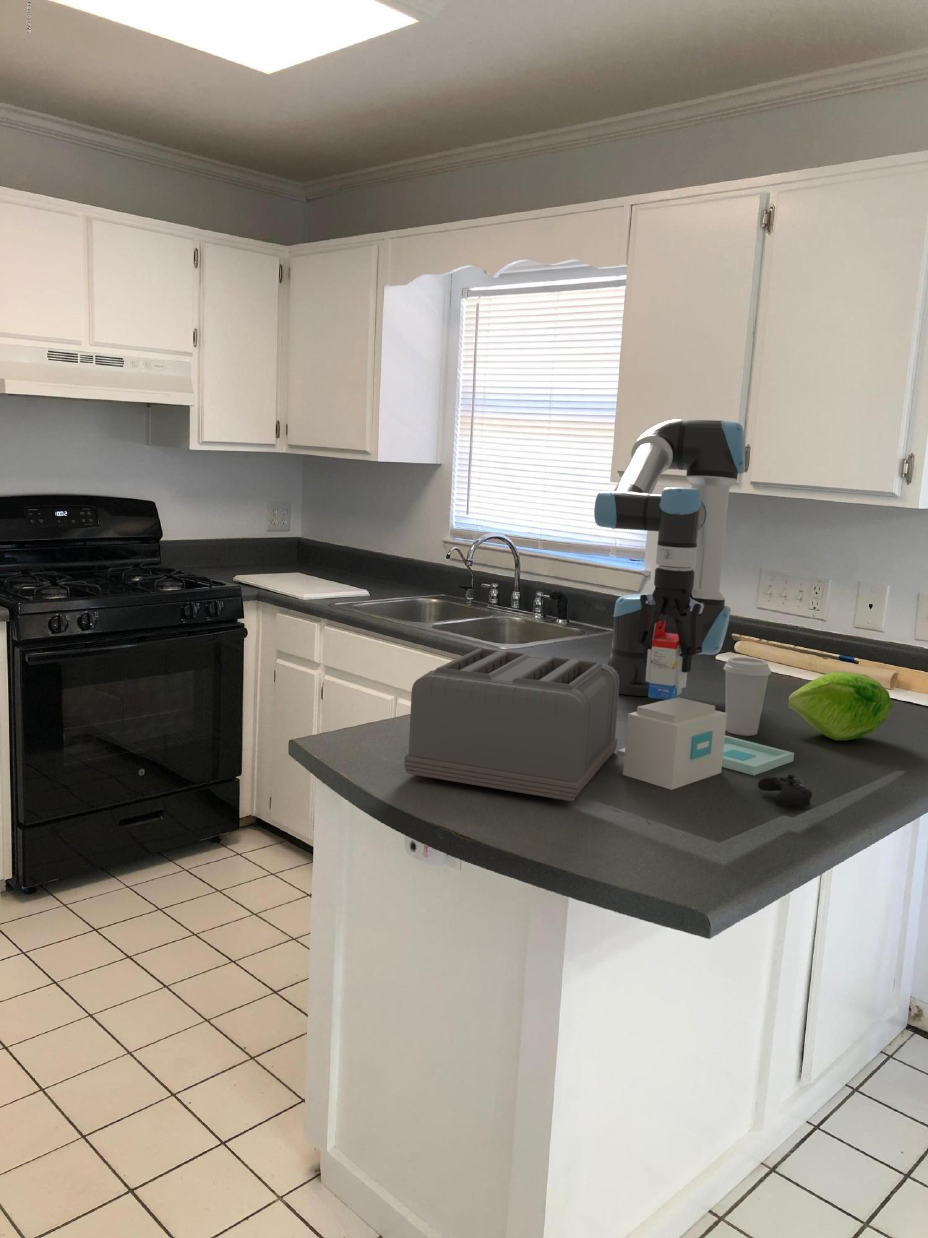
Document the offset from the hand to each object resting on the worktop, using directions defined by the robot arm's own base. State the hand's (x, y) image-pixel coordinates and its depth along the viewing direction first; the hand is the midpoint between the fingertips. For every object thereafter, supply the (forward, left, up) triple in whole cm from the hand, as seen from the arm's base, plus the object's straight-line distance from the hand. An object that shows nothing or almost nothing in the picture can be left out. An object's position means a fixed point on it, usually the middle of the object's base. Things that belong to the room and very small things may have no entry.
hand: (665, 683), depth 200 cm
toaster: (-8, -33, -12) cm, 36 cm away
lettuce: (+20, +34, -12) cm, 42 cm away
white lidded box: (+14, -17, -11) cm, 25 cm away
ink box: (0, 0, -3) cm, 3 cm away
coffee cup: (+6, +21, -12) cm, 24 cm away
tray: (+16, +2, -11) cm, 20 cm away
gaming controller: (+33, -17, -12) cm, 39 cm away
